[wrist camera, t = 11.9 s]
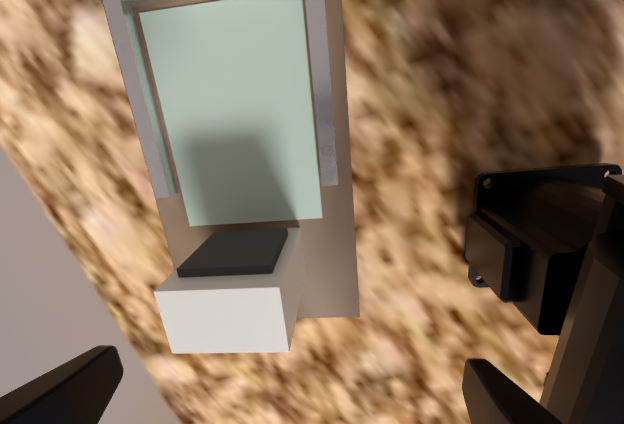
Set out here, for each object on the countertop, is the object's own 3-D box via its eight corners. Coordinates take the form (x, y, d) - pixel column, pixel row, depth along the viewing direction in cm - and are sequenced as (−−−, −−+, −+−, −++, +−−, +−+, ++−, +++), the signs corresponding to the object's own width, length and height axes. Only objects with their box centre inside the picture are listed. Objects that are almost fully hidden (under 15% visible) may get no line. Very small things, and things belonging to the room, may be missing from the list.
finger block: (299, 220, 17) (277, 277, 11) (305, 274, 18) (289, 351, 12) (212, 225, 17) (150, 282, 12) (224, 278, 19) (171, 353, 13)
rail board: (336, -85, 13) (335, -104, 12) (358, 304, 20) (360, 317, 18) (106, -44, 15) (84, -58, 13) (196, 309, 21) (187, 321, 20)
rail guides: (321, -46, 13) (320, -58, 12) (338, 180, 16) (338, 184, 15) (113, -11, 14) (96, -20, 13) (165, 193, 17) (155, 198, 16)
